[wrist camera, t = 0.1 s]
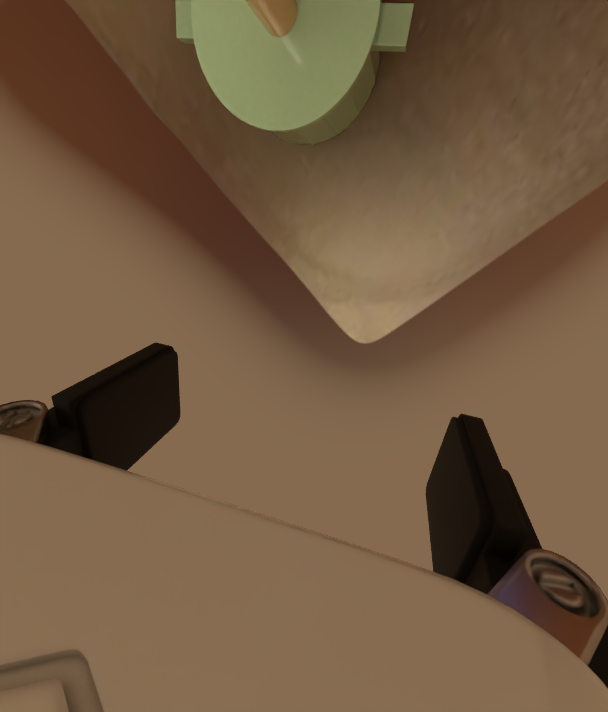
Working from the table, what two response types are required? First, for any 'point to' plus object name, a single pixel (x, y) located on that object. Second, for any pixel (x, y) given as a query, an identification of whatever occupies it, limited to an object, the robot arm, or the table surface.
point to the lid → (283, 55)
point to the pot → (387, 38)
